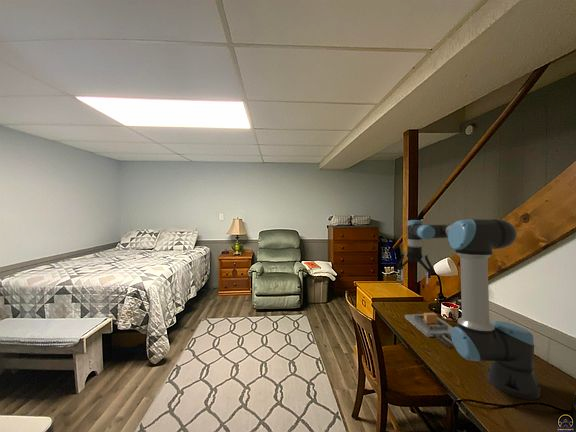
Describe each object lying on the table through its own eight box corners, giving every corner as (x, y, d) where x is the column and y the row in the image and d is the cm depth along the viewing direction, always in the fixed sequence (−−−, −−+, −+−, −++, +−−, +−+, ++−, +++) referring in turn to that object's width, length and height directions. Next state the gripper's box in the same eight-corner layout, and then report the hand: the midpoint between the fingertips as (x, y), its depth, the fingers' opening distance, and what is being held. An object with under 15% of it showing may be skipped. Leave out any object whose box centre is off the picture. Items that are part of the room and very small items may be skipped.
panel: (460, 335, 134) (460, 329, 133) (427, 337, 133) (427, 330, 133) (432, 316, 158) (432, 311, 157) (404, 317, 157) (404, 312, 157)
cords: (464, 347, 122) (464, 345, 122) (448, 348, 122) (448, 346, 122) (448, 336, 133) (448, 334, 133) (434, 336, 133) (434, 334, 133)
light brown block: (437, 323, 144) (437, 314, 144) (426, 323, 144) (426, 315, 143) (433, 320, 147) (433, 312, 147) (423, 321, 147) (423, 312, 146)
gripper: (439, 247, 143) (439, 283, 143) (393, 243, 157) (393, 276, 158) (438, 248, 137) (438, 287, 137) (390, 245, 151) (390, 279, 152)
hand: (414, 281), depth 148 cm, fingers open, 13 cm apart
